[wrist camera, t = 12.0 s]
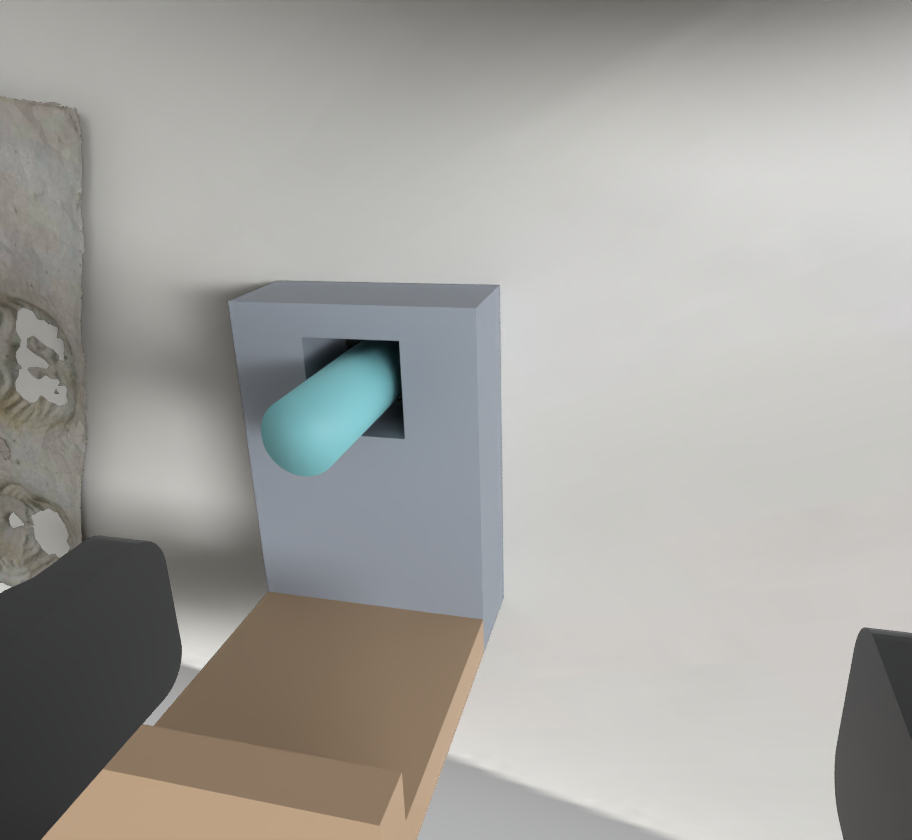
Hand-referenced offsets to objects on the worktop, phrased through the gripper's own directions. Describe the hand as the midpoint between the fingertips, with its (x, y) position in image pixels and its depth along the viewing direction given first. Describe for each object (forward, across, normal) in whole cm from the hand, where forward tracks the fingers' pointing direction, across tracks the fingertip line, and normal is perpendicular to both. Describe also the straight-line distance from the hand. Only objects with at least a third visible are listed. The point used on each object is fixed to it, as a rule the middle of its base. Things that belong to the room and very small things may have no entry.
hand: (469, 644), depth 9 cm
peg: (+30, +12, +6) cm, 33 cm away
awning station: (+30, +12, +11) cm, 34 cm away
